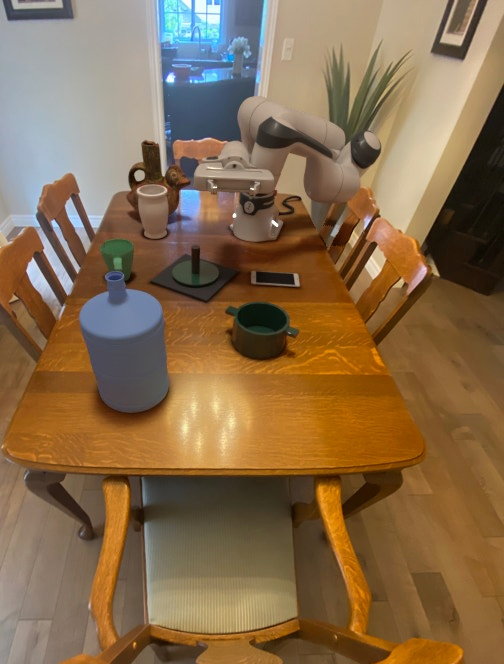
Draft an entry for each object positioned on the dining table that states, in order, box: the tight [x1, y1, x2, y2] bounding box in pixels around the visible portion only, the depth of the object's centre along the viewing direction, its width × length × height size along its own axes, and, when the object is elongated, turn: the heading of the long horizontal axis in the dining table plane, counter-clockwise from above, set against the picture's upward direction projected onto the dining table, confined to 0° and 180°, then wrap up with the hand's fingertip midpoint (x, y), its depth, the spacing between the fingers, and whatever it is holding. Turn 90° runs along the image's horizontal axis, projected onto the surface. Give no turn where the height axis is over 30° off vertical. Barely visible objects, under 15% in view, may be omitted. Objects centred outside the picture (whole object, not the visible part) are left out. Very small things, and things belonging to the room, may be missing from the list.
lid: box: [172, 244, 219, 286], centre depth 111 cm, size 15×15×9 cm
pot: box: [224, 300, 301, 360], centre depth 92 cm, size 14×19×8 cm
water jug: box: [78, 271, 170, 414], centre depth 72 cm, size 16×16×28 cm
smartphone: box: [250, 270, 301, 288], centre depth 114 cm, size 8×1×15 cm
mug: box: [99, 238, 135, 282], centre depth 109 cm, size 15×10×10 cm
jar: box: [137, 185, 169, 240], centre depth 128 cm, size 11×10×15 cm
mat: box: [150, 253, 239, 303], centre depth 114 cm, size 20×20×1 cm
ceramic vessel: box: [125, 139, 192, 218], centre depth 134 cm, size 17×26×25 cm, turn 77°
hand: (233, 192), depth 88 cm, fingers open, 8 cm apart
